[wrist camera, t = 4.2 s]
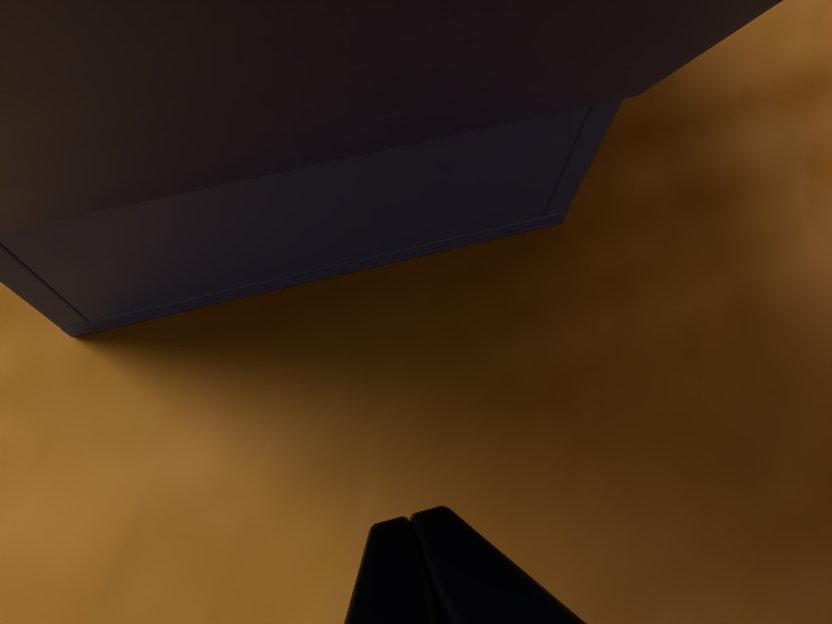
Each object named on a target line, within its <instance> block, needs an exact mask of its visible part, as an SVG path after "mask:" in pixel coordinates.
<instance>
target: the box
mask: <svg viewBox="0 0 832 624" xmlns="http://www.w3.org/2000/svg"><path fill="white" fill-rule="evenodd" d="M622 100H623V99H620V100H616V101H611V102H606V103H602V104H597V105H592V106H588V107H583V108H578V109H574V110H569V111H564V112H560V113H555V114H550V115H546V116H541V117H536V118H532V119H527V120H523V121H518V122H513V123H509V124H504V125H499V126H495V127H490V128H485V129H481V130H476V131H471V132H467V133H462V134H457V135H453V136H448V137H443V138H439V139H434V140H429V141H425V142H420V143H415V144H411V145H406V146H402V147H397V148H392V149H388V150H383V151H378V152H374V153H369V154H364V155H360V156H355V157H350V158H346V159H341V160H336V161H332V162H327V163H322V164H318V165H313V166H308V167H304V168H299V169H295V170H290V171H285V172H281V173H276V174H271V175H267V176H262V177H257V178H253V179H248V180H243V181H239V182H234V183H229V184H225V185H220V186H215V187H211V188H206V189H201V190H197V191H192V192H188V193H183V194H178V195H174V196H169V197H164V198H160V199H155V200H150V201H146V202H141V203H136V204H132V205H127V206H122V207H118V208H113V209H108V210H104V211H99V212H94V213H90V214H85V215H80V216H76V217H71V218H67V219H62V220H57V221H53V222H48V223H43V224H39V225H34V226H29V227H25V228H20V229H15V230H11V231H6V232H1V233H0V282H1V283H3V284H4V285H5V286H7V287H8V288H9V289H11V290H12V291H13V292H14V293H16V294H17V295H18V296H20V297H21V298H22V299H23V300H25V301H26V302H27V303H29V304H30V305H31V306H33V307H34V308H35V309H36V310H38V311H39V312H40V313H42V314H43V315H44V316H45V317H47V318H48V319H49V320H51V321H52V322H53V323H55V324H56V325H57V326H58V327H60V328H61V330H63V331H64V332H65V333H67V334H68V335H69V336H71V337H75V336H79V335H84V334H88V333H92V332H97V331H101V330H105V329H110V328H114V327H118V326H122V325H127V324H131V323H135V322H140V321H144V320H148V319H152V318H157V317H161V316H165V315H170V314H174V313H178V312H183V311H187V310H191V309H195V308H200V307H204V306H208V305H213V304H217V303H221V302H225V301H230V300H234V299H238V298H243V297H247V296H251V295H256V294H260V293H264V292H268V291H273V290H277V289H281V288H286V287H290V286H294V285H298V284H303V283H307V282H311V281H316V280H320V279H324V278H329V277H333V276H337V275H341V274H346V273H350V272H354V271H359V270H363V269H367V268H371V267H376V266H380V265H384V264H389V263H393V262H397V261H402V260H406V259H410V258H414V257H419V256H423V255H427V254H432V253H436V252H440V251H444V250H449V249H453V248H457V247H462V246H466V245H470V244H475V243H479V242H483V241H487V240H492V239H496V238H500V237H505V236H509V235H513V234H517V233H522V232H526V231H530V230H535V229H539V228H543V227H548V226H552V225H556V224H560V223H562V222H563V220H564V218H565V216H566V214H567V211H568V209H569V207H570V205H571V203H572V201H573V199H574V197H575V195H576V193H577V191H578V189H579V187H580V185H581V183H582V181H583V179H584V177H585V175H586V173H587V171H588V169H589V167H590V165H591V163H592V161H593V159H594V157H595V155H596V153H597V151H598V149H599V147H600V145H601V143H602V141H603V139H604V137H605V135H606V133H607V131H608V129H609V127H610V125H611V123H612V121H613V119H614V117H615V115H616V112H617V110H618V108H619V106H620V104H621V102H622Z"/></svg>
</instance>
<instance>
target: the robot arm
mask: <svg viewBox="0 0 832 624" xmlns="http://www.w3.org/2000/svg"><path fill="white" fill-rule="evenodd" d="M344 624H586V623H585V622H584V621H583V620H582V619H580V618H579V617H578V616H577V615H576V614H574V613H573V612H572V611H571V610H570V609H569V608H567V607H566V606H565V605H564V604H563V603H561V602H560V601H559V600H558V599H557V598H555V597H554V596H553V595H552V594H551V593H550V592H548V591H547V590H546V589H545V588H544V587H542V586H541V585H540V584H539V583H538V582H536V581H535V580H534V579H533V578H532V577H530V576H529V575H528V574H527V573H526V572H525V571H523V570H522V569H521V568H520V567H519V566H517V565H516V564H515V563H514V562H513V561H511V560H510V559H509V558H508V557H507V556H505V555H504V554H503V553H502V552H501V551H500V550H498V549H497V548H496V547H495V546H494V545H492V544H491V543H490V542H489V541H488V540H486V539H485V538H484V537H483V536H482V535H481V534H479V533H478V532H477V531H476V530H475V529H473V528H472V527H471V526H470V525H469V524H467V523H466V522H465V521H464V520H463V519H461V518H460V517H459V516H458V515H457V514H456V513H454V512H453V511H452V510H451V509H449V508H448V507H446V506H438V507H434V508H431V509H427V510H423V511H420V512H416V513H414V514H412V516H411V518H410V521H409V519H408V518H407V517H404V516H402V517H398V518H394V519H390V520H387V521H383V522H379V523H376V524H374V525H373V526H372V527H371V529H370V531H369V534H368V538H367V541H366V545H365V549H364V552H363V556H362V560H361V563H360V567H359V571H358V574H357V578H356V582H355V585H354V589H353V593H352V597H351V600H350V604H349V608H348V611H347V615H346V619H345V622H344Z"/></svg>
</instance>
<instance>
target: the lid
mask: <svg viewBox="0 0 832 624" xmlns="http://www.w3.org/2000/svg"><path fill="white" fill-rule="evenodd" d="M781 1H782V0H0V233H1V232H6V231H11V230H15V229H20V228H25V227H29V226H34V225H39V224H43V223H48V222H53V221H57V220H62V219H67V218H71V217H76V216H80V215H85V214H90V213H94V212H99V211H104V210H108V209H113V208H118V207H122V206H127V205H132V204H136V203H141V202H146V201H150V200H155V199H160V198H164V197H169V196H174V195H178V194H183V193H188V192H192V191H197V190H201V189H206V188H211V187H215V186H220V185H225V184H229V183H234V182H239V181H243V180H248V179H253V178H257V177H262V176H267V175H271V174H276V173H281V172H285V171H290V170H295V169H299V168H304V167H308V166H313V165H318V164H322V163H327V162H332V161H336V160H341V159H346V158H350V157H355V156H360V155H364V154H369V153H374V152H378V151H383V150H388V149H392V148H397V147H402V146H406V145H411V144H415V143H420V142H425V141H429V140H434V139H439V138H443V137H448V136H453V135H457V134H462V133H467V132H471V131H476V130H481V129H485V128H490V127H495V126H499V125H504V124H509V123H513V122H518V121H523V120H527V119H532V118H536V117H541V116H546V115H550V114H555V113H560V112H564V111H569V110H574V109H578V108H583V107H588V106H592V105H597V104H602V103H606V102H611V101H616V100H620V99H625V98H630V97H634V96H638V95H640V94H641V93H643V92H644V91H646V90H647V89H649V88H650V87H652V86H653V85H655V84H656V83H658V82H659V81H661V80H662V79H664V78H666V77H667V76H669V75H670V74H672V73H673V72H675V71H676V70H678V69H679V68H681V67H682V66H684V65H685V64H687V63H688V62H690V61H691V60H693V59H694V58H696V57H697V56H699V55H700V54H702V53H703V52H705V51H707V50H708V49H710V48H711V47H713V46H714V45H716V44H717V43H719V42H720V41H722V40H723V39H725V38H726V37H728V36H729V35H731V34H732V33H734V32H735V31H737V30H738V29H740V28H741V27H743V26H745V25H746V24H748V23H749V22H751V21H752V20H754V19H755V18H757V17H758V16H760V15H761V14H763V13H764V12H766V11H767V10H769V9H770V8H772V7H773V6H775V5H776V4H778V3H779V2H781Z"/></svg>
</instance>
